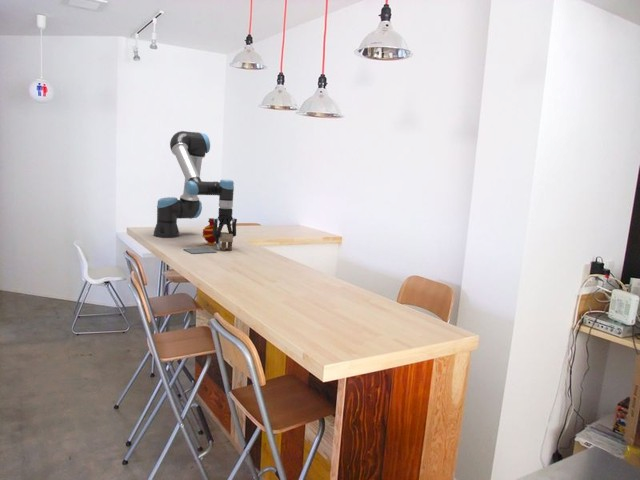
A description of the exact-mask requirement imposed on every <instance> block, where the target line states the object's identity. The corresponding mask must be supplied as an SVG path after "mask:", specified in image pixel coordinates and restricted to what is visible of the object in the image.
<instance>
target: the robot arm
mask: <svg viewBox="0 0 640 480" xmlns="http://www.w3.org/2000/svg"><path fill="white" fill-rule="evenodd" d="M169 147H170V151H171V153H172V154H173V155H174V156H175V158H176V161H177V162H178V165H179V167H180V169H181V171H182V174H183V177H184V185H183V192H182V194H181V195H180V198H179V199H178V198H177V197H175V196H174V197H173V196H172V197H170V196H169V197H162V198H159V199H158V200H157V204H156V208H157V209H156V210H157V211H156V225H155V227H154V230H153V236H155V237H159V238H177V237H180V230H179V227H178V226H179V225H178V224H177V223H178V219H190V220H192V219H197V218H198V217H199V216H200V215H201V213H202V211H203V206H202V205H203V204H202V202H201V200H200V197H199V196H219V197H218V198H219V199H218V207H219V208H218V216H217V218H214V219H213V222H214V225H213V234H212V236H214V237H216V242H215V244H216V243H217V248H216V250H218V251H220V250H221V241H220V238H219V236H220V233H221V232H222V230H223V227H225V226H224V225H226V228H227V233H230V234H232V235H233V238H234V237H236V236H237V220H238V219H237V218H233V217H234V216H233V210H234V209H233V205H234V204H233V203H234V190H235V187H234V186H235V185H234V184H235V183H234V180H232V179H220V181H202V179H201V171H202V164H203V159H204V158H205V157H206V154H208V153H209V152H210V150H211V141H210V137H209V136H208V134H206V133H203V132H197V131H184V130H181V131H177V132H176V133H175V134H173V135H172V137H171V138H170V141H169ZM217 227H218V230H217Z"/></svg>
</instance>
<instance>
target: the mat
mask: <svg viewBox="0 0 640 480" xmlns="http://www.w3.org/2000/svg"><path fill="white" fill-rule="evenodd" d="M183 251H185V252H186V253H189V254H190V255H199V254H201V255H202V254H216V253H217V251H216V250H214V249H211V248H210V247H197V248H183Z"/></svg>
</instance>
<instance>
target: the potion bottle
mask: <svg viewBox="0 0 640 480" xmlns="http://www.w3.org/2000/svg"><path fill="white" fill-rule="evenodd" d="M213 219H215V218H213V217H211V218H208V223H209V224H208V225H206V226H204V228H203V229H202V237H203V238H204V240H205V241H206V242H207V243H206V245H208V246H216V237H214V236H212V234H213V225H214V222H213ZM218 227H219V226H217V230H218Z"/></svg>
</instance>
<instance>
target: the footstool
mask: <svg viewBox="0 0 640 480" xmlns="http://www.w3.org/2000/svg"><path fill="white" fill-rule="evenodd" d="M219 238H220V243H221V245H220V250H221V252H225V251H226V249H227V251H233V242H234V237H233V235H232V234H230V233H229V232H228V231H221V233H220V236H219ZM215 249H217V243H216V242H215Z"/></svg>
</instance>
